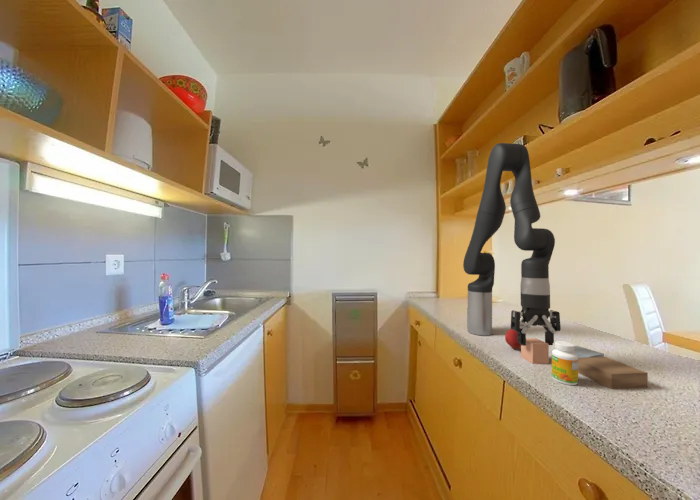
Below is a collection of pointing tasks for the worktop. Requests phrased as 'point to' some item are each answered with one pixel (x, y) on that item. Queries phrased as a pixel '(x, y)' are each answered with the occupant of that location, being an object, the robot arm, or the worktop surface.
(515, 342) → the red oval lump
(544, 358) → the terracotta block
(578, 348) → the slate block
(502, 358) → the worktop surface
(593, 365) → the walnut block
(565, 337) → the worktop surface
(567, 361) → the supplement bottle
